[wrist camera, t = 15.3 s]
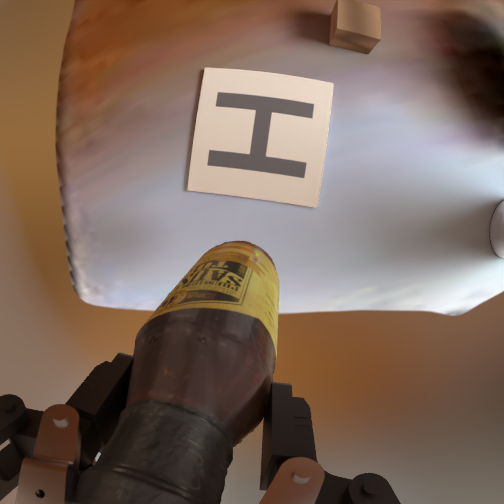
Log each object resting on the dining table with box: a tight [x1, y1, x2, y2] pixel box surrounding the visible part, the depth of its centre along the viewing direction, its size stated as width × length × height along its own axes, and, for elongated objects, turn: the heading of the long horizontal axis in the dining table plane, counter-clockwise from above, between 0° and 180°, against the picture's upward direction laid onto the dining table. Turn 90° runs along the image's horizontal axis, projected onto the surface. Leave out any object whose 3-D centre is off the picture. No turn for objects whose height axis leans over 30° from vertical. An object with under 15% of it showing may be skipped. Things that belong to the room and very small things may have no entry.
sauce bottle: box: [72, 241, 279, 504], centre depth 14 cm, size 6×6×20 cm
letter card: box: [187, 68, 334, 208], centre depth 32 cm, size 15×15×1 cm
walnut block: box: [329, 0, 381, 54], centre depth 26 cm, size 5×5×5 cm
